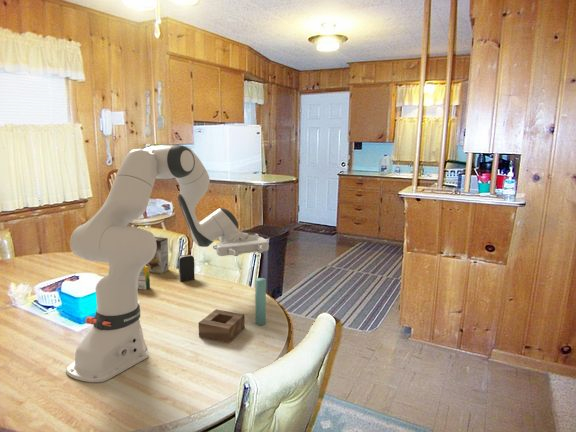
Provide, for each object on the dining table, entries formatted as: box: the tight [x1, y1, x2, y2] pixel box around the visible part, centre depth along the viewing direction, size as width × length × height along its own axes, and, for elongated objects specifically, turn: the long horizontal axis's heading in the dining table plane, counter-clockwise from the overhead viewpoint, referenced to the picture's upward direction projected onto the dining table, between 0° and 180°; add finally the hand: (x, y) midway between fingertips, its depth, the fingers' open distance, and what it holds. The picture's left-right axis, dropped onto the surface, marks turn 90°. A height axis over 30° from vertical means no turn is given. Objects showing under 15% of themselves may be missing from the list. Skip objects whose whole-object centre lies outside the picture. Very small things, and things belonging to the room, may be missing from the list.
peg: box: [254, 277, 267, 326], centre depth 138 cm, size 4×4×16 cm
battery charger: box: [177, 254, 195, 282], centre depth 180 cm, size 7×4×11 cm, turn 121°
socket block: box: [198, 308, 246, 344], centre depth 132 cm, size 11×11×5 cm
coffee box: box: [145, 236, 170, 274], centre depth 191 cm, size 9×6×16 cm
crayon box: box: [137, 265, 151, 291], centre depth 170 cm, size 7×3×12 cm, turn 74°
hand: (248, 252), depth 146 cm, fingers open, 8 cm apart
